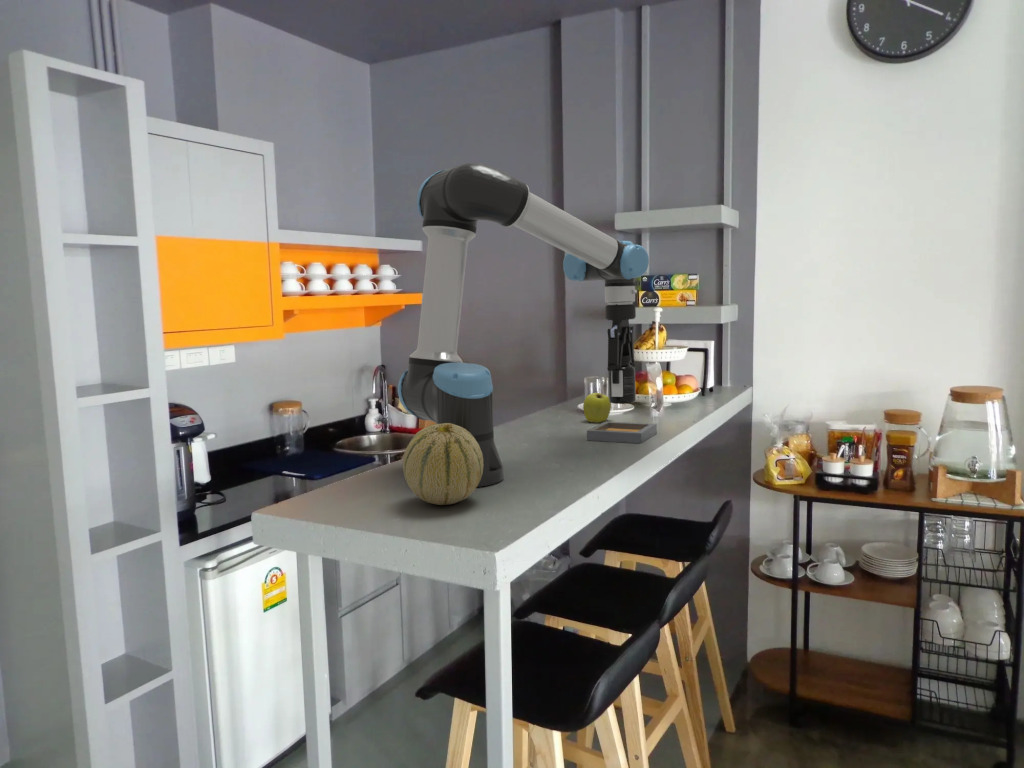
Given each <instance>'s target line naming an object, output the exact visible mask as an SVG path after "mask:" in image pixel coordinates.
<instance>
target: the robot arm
mask: <svg viewBox="0 0 1024 768" xmlns="http://www.w3.org/2000/svg"><path fill="white" fill-rule="evenodd" d="M416 205H417V206H416V208H417V211H418V214H419V215H420V216H421V218H422V226H421V230H422V232H423V233H424V234H425V236H426V237H427V239H428V240H427V247H426V248H427V249H426V258H425V259H426V260H425V269H424V279H423V289H422V299H421V308H420V319H419V326H418V327H419V328H418V338H417V347H416V349H415V350H414V351H413V352H412V353H411V354H410V355H409V357H408V364H407V369H406V370H405V371H404V373H402V374H401V376H400V378H399V381H398V384H397V395H398V399H399V402H400V404H401V406H402V407H403V408H404V410H405V411H406V412H408V413H409V414H410V415H412V416H413V417H415V418H418V419H420V420H422V421H430V422H433V423H435V424H442V423H451V424H454V425H457V426H460V427H462V428H464V429H466V430H467V431H469V432H470V433H471V434H472V435H473V437H474V438H475V440H476V441H477V443H478V444H479V446H480V449H481V451H482V455H483V464H484V466H483V473H482V476H481V480H480V482H479V484H478V486H477V487H476V488H480V487H487V486H490V485H491V486H492V485H494V484H498V483H500V482H502V480H504V478H505V474H504V473H505V472H504V471H505V470H504V465H503V461H502V460H501V456H500V454H499V452H498V448H497V446H496V443H495V436H494V435H495V434H494V432H495V431H494V404H493V401H494V400H493V399H494V398H493V391H494V386H493V380H492V374H491V371H490V370H489V369H488V368H487V367H486V366H484V365H480V364H477V363H472V362H471V363H468V362H463V359H462V358H461V357H460V356H459V354H458V343H459V333H460V322H461V314H462V306H463V305H462V304H463V294H464V285H465V276H466V275H465V273H466V267H467V266H466V264H467V258H468V257H467V255H468V247H469V246H468V245H469V242H471V241H472V240H473V239H474V238H476V235H477V227H478V221H486V222H487V221H488V222H493V223H496V224H498V225H500V226H503V227H504V228H511V227H512V226H514V227H515V228H517V229H519V230H521V231H524V232H526V233H527V234H530V235H531V236H533V237H536V238H537V239H540V240H541V241H543V242H545V243H547V244H549V245H551V246H553V247H555V248H557V249H558V250H560V251H563V252H566V254H565V256H564V258H563V262H562V266H563V268H562V269H563V273H564V275H565V277H566V278H567V279H568V280H569V281H573V282H589V281H590V282H591V281H592V282H593V281H604V303H606V305H605V307H604V308H605V309H604V310H605V314H604V315H605V319H606V320H607V321H612V322H611V323H612V324H611V328H607V338H608V339H607V341H608V342H607V372H608V371H611V386H612V397H623V371H621V363H622V355H630V359H631V362H630V365H631V366H633V367H634V368H635V366H636V363H635V350H634V326H633V325H630V320H634V319H636V315H637V314H636V313H637V312H636V311H637V310H636V305H635V304H634V303H635V302H636V294H637V293H638V290H637V289H636V279H637V278H640V277H642V276H643V275H644V274H645V273H646V272H647V270H648V268H649V264H650V259H649V253H648V251H647V250H646V248H645V247H644V246H642V245H639V244H634V242H632V241H630V240H617V239H616V238H613V237H612V236H609V235H608V234H606V233H604V232H603V231H600V230H599V229H597V228H595V227H594V226H592V225H590V224H588V223H587V222H585V221H583V220H581V219H579V218H577V217H575V216H574V215H572V214H570V213H568V212H567V211H565V210H563V209H561V208H559V207H558V206H555V205H554V204H552V203H550V202H548V201H546V200H545V199H543V198H541V197H540V196H538V195H536V194H534V193H532V192H530V188H529V186H528V184H526V183H524V182H522V181H521V180H519V179H518V178H515V177H514V176H512V175H509V174H508V173H506V172H504V171H502V170H500V169H497V168H495V167H494V166H493V167H492V166H489V165H487V164H484V163H479V162H466V163H463V164H460V165H456V166H453V167H451V168H447V169H442V170H439V171H436V172H435V173H433V174H431V175H430V176H428V177H427V178H426V179H425V180H424V181H423V182H422V184H421V185H420V187H419V189H418V192H417V194H416Z"/></svg>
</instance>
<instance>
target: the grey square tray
mask: <svg viewBox="0 0 1024 768" xmlns="http://www.w3.org/2000/svg"><path fill="white" fill-rule="evenodd" d="M657 430H658V429H657V423H648V422H625V421H608V420H606V421H604V422H600V424H597V425H595V426H593V427H591V428H589V429H588V430H586V438H587V439H586V441H594V442H608V443H609V442H610V443H611V442H612V443H626V444H627V443H628V444H629V443H630V444H642V443H644V442H645V441H648V439H650V438H652V437H653V436H655V435H657V433H658V431H657Z"/></svg>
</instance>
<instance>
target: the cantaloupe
mask: <svg viewBox="0 0 1024 768" xmlns="http://www.w3.org/2000/svg"><path fill="white" fill-rule="evenodd" d="M483 466H484V464H483V455H482V451H481V449H480V446H479V444H478V443H477V441H476V440H475V438H474V437H473V435H472V434H471V433H470V432H469V431H467V430H466V429H464V428H462V427H460V426H457V425H454V424H451V423H442V424H436V423H434V424H433V423H432V424H430V425H428V426H426V427H424V428H422V429H420V430H419V431H417V432H416V433H415V434H414V436H412V437H411V440H410V442H409V443H408V444H407V446H406V449H405V451H404V454H403V460H402V471H403V476H404V479H405V481H406V484H407V486H408V487H409V489H410V490H411V491H412V492H413V494H415V496H416V497H418V499H420V500H421V501H424V502H425V503H429V504H433V505H435V506H436V505H437V506H445V505H452V504H453V505H454V504H457V503H459V502H461V501H463V500H466V499H467V498H469V497H470V496H471V495H472V494H473V493H474V492H475V490H476V489H477V488H478V487H477V486H478V484H479V482H480V480H481V476H482V473H483Z"/></svg>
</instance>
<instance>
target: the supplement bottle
mask: <svg viewBox="0 0 1024 768" xmlns="http://www.w3.org/2000/svg"><path fill="white" fill-rule="evenodd" d="M630 362H631V359H630V355H622V363H621V371H623V397H612V386H611V371H608V370H607V381H608V382H607V383H608V387H607V388H608V397H609V402H610V403H611V404H615V405H617V404H619V405H622V404H623V405H625V404H632V403H635V402H636V400H637V396H636V395H637V394H636V391H637V390H636V389H637V388H636V369H635V367H633V366H631V365H630Z"/></svg>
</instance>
